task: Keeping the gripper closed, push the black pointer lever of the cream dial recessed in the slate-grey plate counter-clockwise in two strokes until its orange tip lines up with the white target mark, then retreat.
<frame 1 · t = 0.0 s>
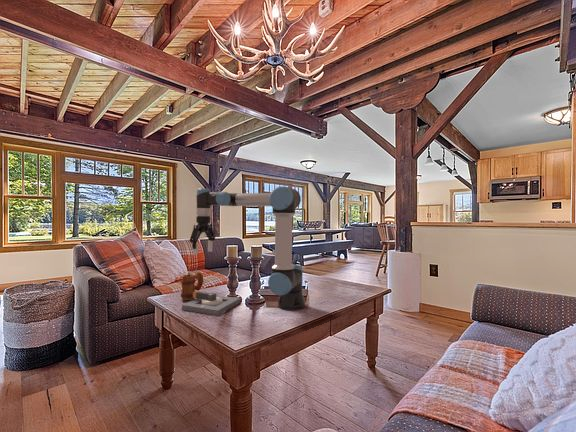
hand: (202, 253, 165), 28 cm above the table, fingers open, 13 cm apart
dial: (207, 298, 160), point 4 cm above the table, hinge at 0.0°
dial plate: (212, 306, 159), on the table
mug: (192, 298, 172), on the table
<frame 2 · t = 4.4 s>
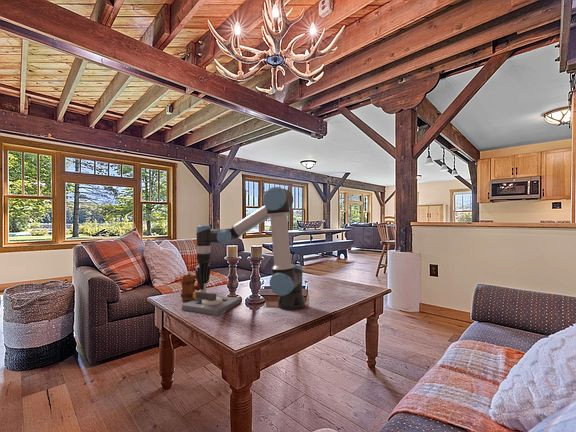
hand: (203, 294, 163), 5 cm above the table, fingers closed
dial: (207, 298, 160), point 4 cm above the table, hinge at 0.6°, touching gripper
everything else where it was.
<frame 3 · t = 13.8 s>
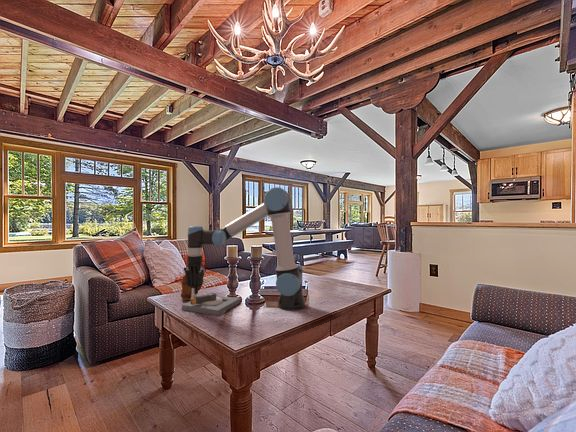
hand: (194, 299, 154), 5 cm above the table, fingers closed
dial: (206, 300, 156), point 4 cm above the table, hinge at 64.7°, touching gripper
everything else where it was.
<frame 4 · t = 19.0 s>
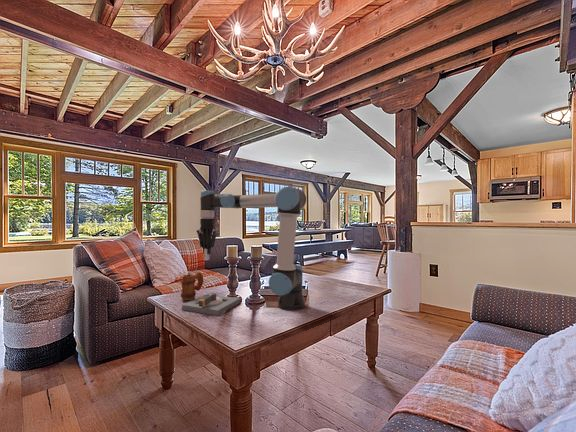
hand: (206, 259, 163), 24 cm above the table, fingers closed
dial: (209, 300, 155), point 4 cm above the table, hinge at 97.3°
everything else where it was.
at the end: dial at +97° (first picture: +0°) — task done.
